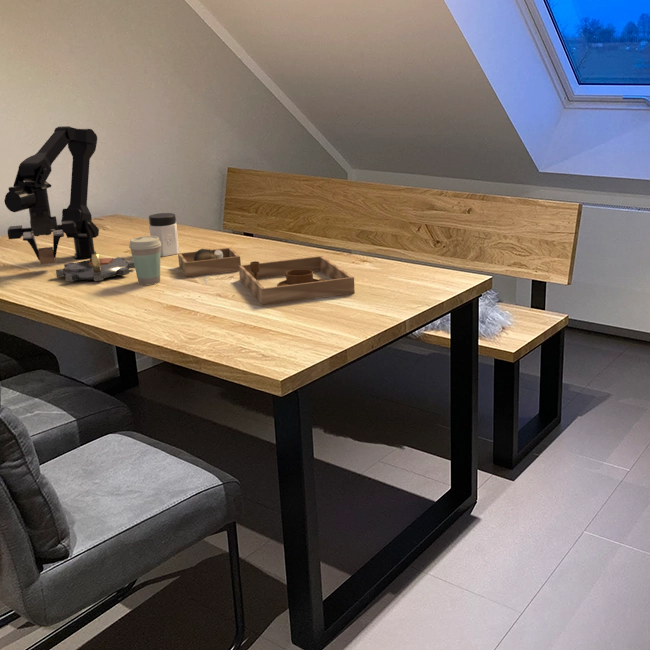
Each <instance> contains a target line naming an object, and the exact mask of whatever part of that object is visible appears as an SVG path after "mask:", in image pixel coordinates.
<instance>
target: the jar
mask: <svg viewBox="0 0 650 650" xmlns="http://www.w3.org/2000/svg"><path fill="white" fill-rule="evenodd" d="M176 219H177V217H176V214H175V213H172V212H161V213H154V214H150V215H149V216H148V222H149V226H148V229H149V236H155V237H158V238H159V240H160V242H161V246H160V257H168V256H174V255H178V253H180V246H179V244H180V243H179V235H178V226H177V220H176Z"/></svg>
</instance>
